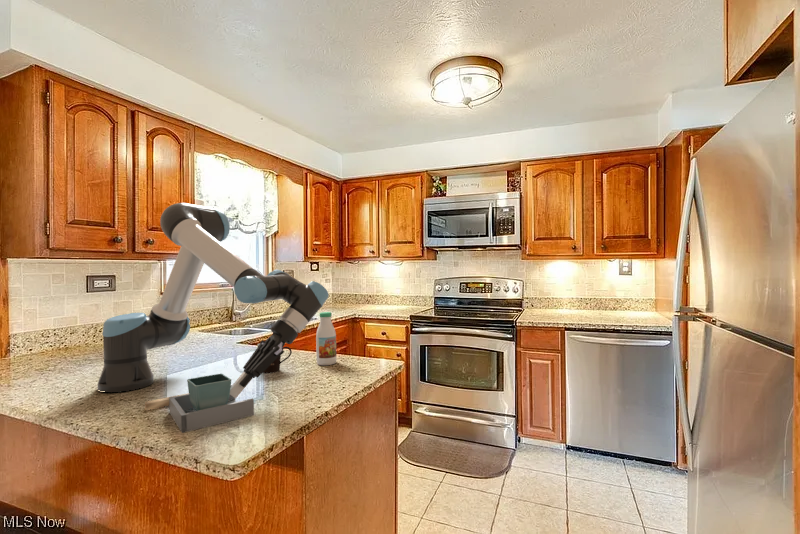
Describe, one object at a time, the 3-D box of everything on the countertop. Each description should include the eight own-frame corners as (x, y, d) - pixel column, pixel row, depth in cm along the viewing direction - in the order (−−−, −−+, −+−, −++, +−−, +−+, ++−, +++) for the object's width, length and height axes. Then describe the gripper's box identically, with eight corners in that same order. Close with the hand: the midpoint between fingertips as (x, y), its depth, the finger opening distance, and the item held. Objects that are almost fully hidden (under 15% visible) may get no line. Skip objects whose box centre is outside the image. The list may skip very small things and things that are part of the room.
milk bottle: (312, 365, 152) (311, 313, 152) (323, 360, 159) (322, 311, 159) (329, 366, 149) (328, 313, 149) (340, 361, 157) (339, 311, 156)
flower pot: (222, 404, 109) (221, 372, 110) (232, 413, 103) (232, 379, 103) (187, 412, 104) (186, 378, 104) (195, 422, 97) (195, 386, 97)
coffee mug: (252, 372, 143) (252, 345, 143) (270, 366, 151) (270, 340, 151) (276, 376, 138) (275, 347, 138) (293, 370, 145) (293, 343, 145)
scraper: (147, 414, 104) (147, 406, 104) (143, 406, 110) (143, 399, 110) (208, 401, 114) (208, 394, 114) (202, 394, 120) (202, 387, 120)
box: (234, 398, 115) (233, 384, 115) (253, 414, 101) (253, 399, 101) (169, 412, 104) (169, 397, 104) (181, 432, 91) (181, 415, 91)
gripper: (307, 337, 113) (249, 409, 103) (288, 331, 123) (234, 396, 113) (289, 320, 110) (227, 393, 99) (271, 316, 120) (214, 382, 109)
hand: (231, 395), depth 106 cm, fingers closed
